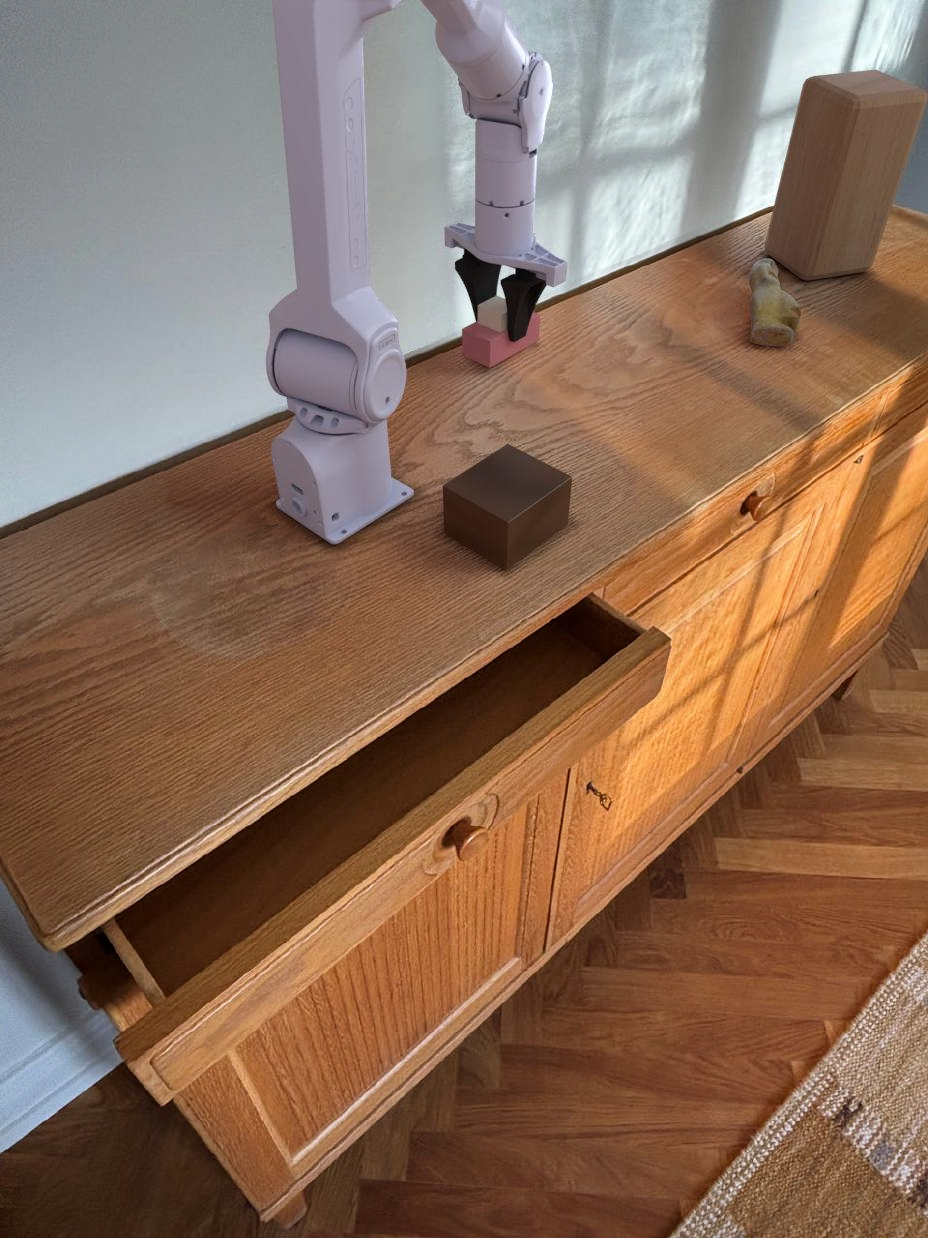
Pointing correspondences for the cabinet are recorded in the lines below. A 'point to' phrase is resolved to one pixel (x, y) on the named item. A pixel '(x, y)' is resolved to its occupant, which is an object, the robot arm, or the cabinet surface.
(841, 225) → the block
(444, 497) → the walnut block
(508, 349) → the pink toy brick
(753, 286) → the figurine
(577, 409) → the cabinet surface
